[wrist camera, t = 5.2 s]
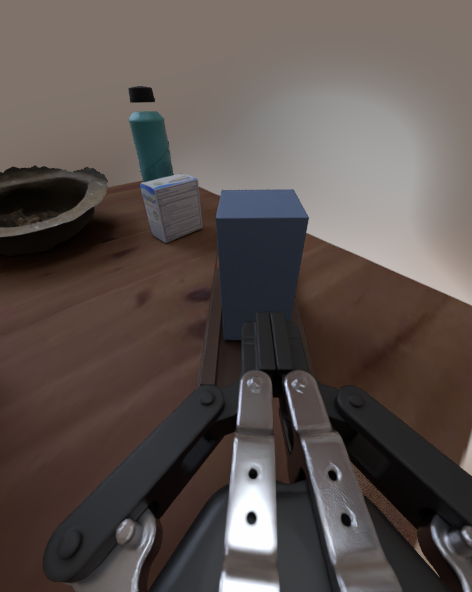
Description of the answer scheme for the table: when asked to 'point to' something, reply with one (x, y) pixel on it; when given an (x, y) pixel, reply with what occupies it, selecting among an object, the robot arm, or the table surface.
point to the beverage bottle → (150, 138)
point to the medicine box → (172, 206)
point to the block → (258, 254)
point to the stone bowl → (45, 206)
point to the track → (230, 344)
